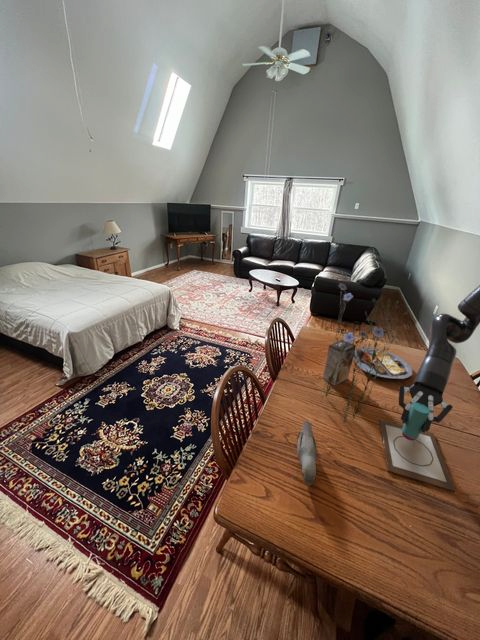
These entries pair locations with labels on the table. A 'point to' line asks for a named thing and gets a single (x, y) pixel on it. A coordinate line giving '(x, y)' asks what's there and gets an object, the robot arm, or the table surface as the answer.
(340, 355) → the coffee box
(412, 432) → the cylinder
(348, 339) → the wildflower
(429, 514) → the table surface
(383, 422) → the picture frame
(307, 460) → the decorative bird
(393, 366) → the food plate
